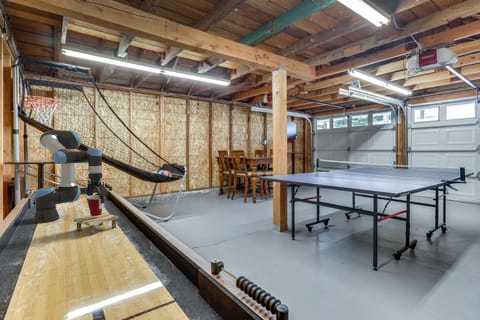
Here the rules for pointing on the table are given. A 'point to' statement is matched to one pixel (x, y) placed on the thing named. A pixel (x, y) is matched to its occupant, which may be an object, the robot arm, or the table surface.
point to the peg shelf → (95, 221)
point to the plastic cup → (94, 205)
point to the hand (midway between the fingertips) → (96, 207)
